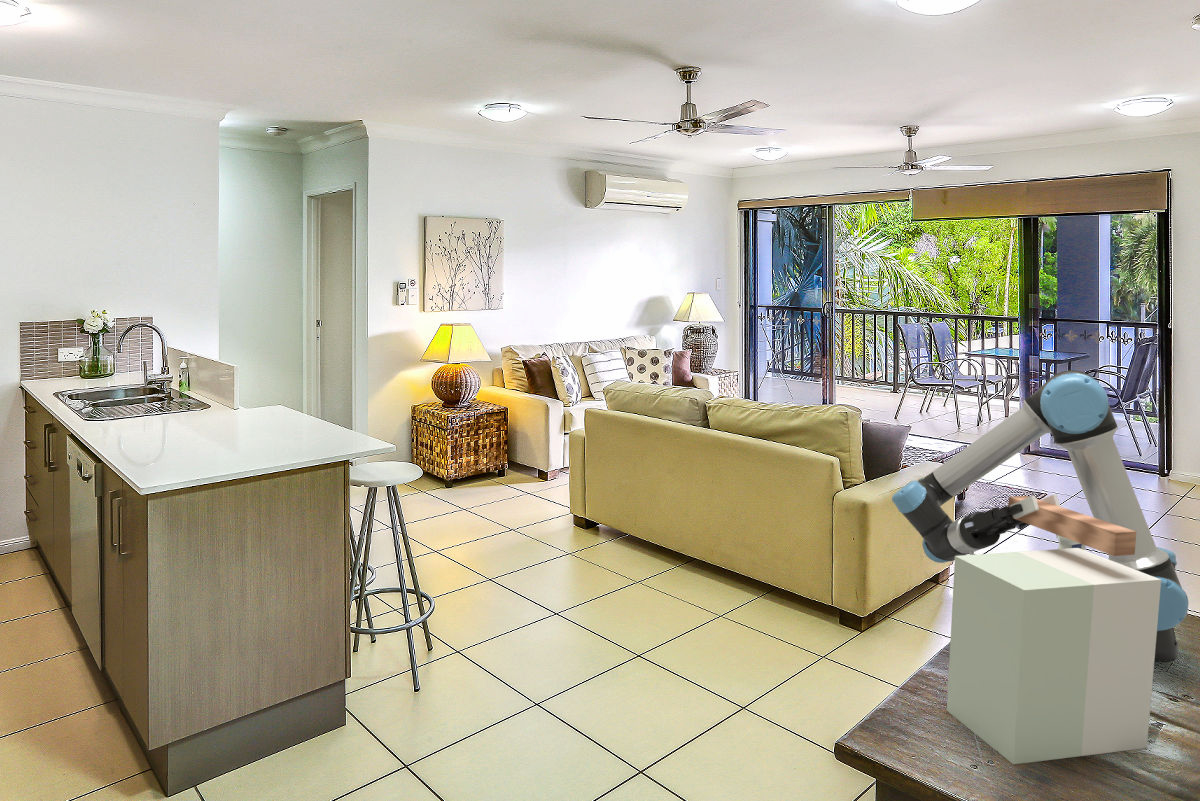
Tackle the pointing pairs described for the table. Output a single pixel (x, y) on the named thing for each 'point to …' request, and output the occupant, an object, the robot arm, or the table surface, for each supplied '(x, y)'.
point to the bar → (1080, 528)
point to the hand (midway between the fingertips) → (1046, 502)
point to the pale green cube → (1052, 653)
